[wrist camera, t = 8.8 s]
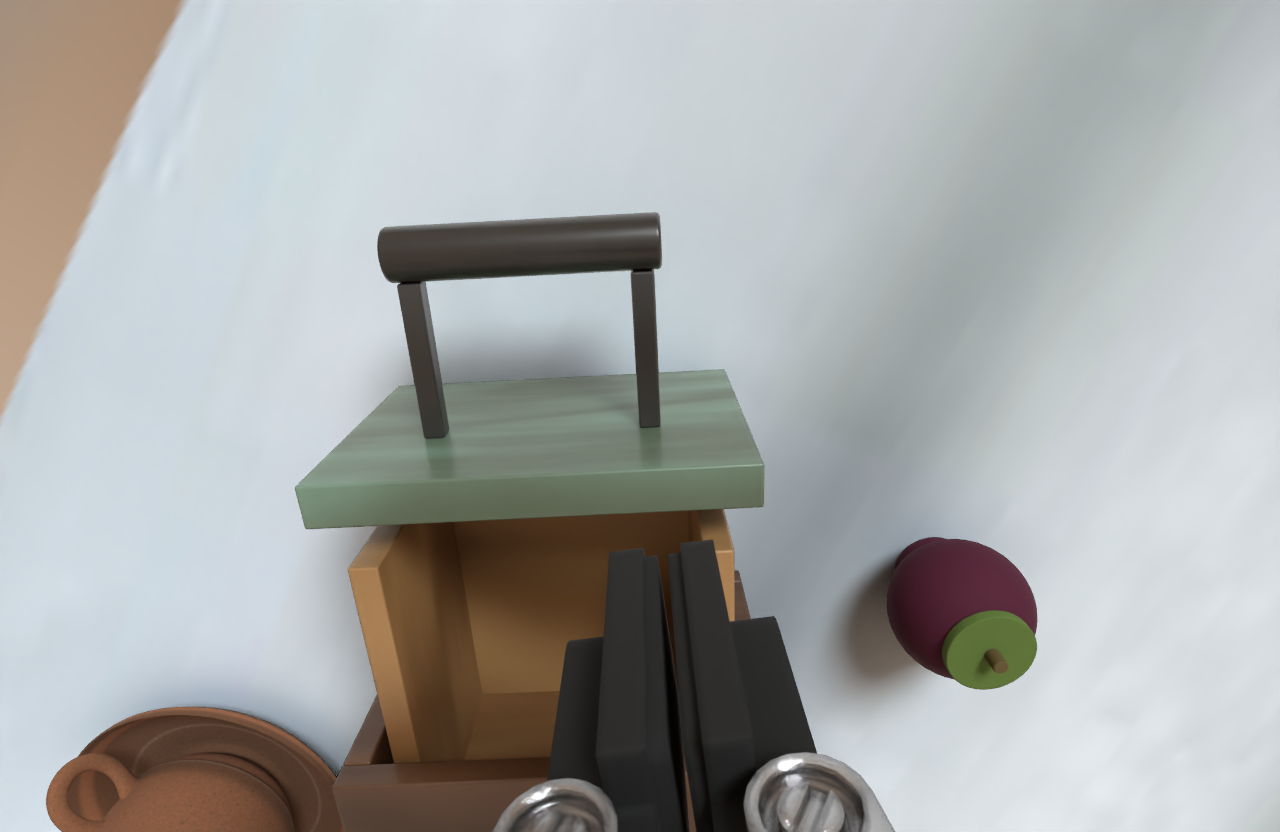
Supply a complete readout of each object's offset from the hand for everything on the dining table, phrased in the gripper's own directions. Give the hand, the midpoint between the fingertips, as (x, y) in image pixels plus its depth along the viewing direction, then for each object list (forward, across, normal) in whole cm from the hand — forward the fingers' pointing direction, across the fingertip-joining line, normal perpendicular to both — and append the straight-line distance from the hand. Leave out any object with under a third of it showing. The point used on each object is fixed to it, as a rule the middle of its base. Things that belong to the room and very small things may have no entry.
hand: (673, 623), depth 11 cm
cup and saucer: (+15, +22, +17) cm, 31 cm away
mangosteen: (+14, -10, +10) cm, 20 cm away
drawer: (+14, +4, +4) cm, 15 cm away
